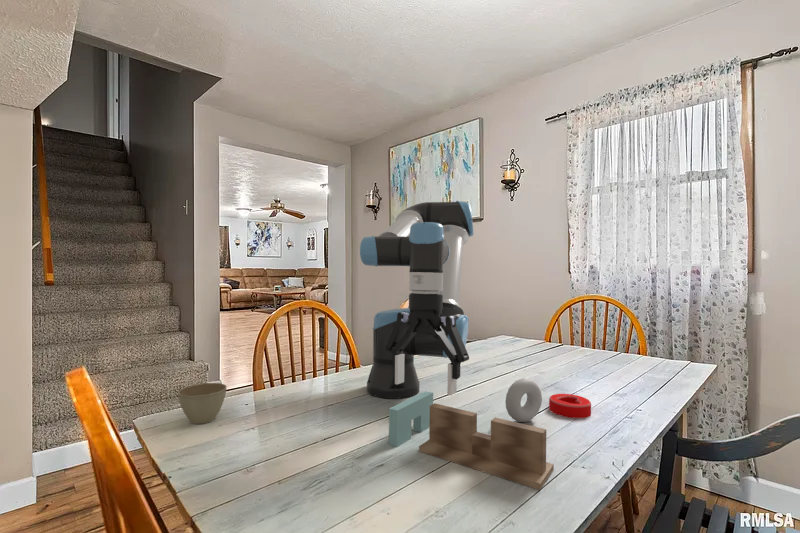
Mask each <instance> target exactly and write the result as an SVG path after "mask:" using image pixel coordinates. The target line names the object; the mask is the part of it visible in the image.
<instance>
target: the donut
mask: <svg viewBox="0 0 800 533" xmlns="http://www.w3.org/2000/svg"><path fill="white" fill-rule="evenodd" d="M524 395H526V401H525V403H524V405H522V404H521V402H522V398H523V396H524ZM542 402H543V396H542V390H541V388H540V386H539V385H538V383H536V381H534V380H532V379H531V378H525V377H524V378H520V379H517V380H515V381H514V382H513V383H512V384H511V385H510V386H509V388H508V390H507V392H506V396H505V408H506V412H507V413H508V415H509V417H511V419H512V420H514V421H515V422H517V423H527V422H530V421H531V420H533V419H534V418H535V417H536V416H537V414H538V413H539V412H540V409H541V407H542Z"/></svg>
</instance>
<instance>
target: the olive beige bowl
mask: <svg viewBox="0 0 800 533" xmlns="http://www.w3.org/2000/svg"><path fill="white" fill-rule="evenodd" d="M226 393H227V384H225V383H221V382H205V383H197V384H193V385H189V386H186V387H183V388H181V389H179V390H178V391H177V395H178V396H177V397H178V400H179V404H180V407H181V409H182V411H183V413H184V414H185V417H186V418H187V420H188V421H189V422H190V423H192V424H194V425H201V424H203V425H204V424H207V423H210V422H212V421H214V420H215V419H216V417H217V416H218V415H219V412H221V409H222V407H223V403H224V402H225V398H226Z"/></svg>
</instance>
